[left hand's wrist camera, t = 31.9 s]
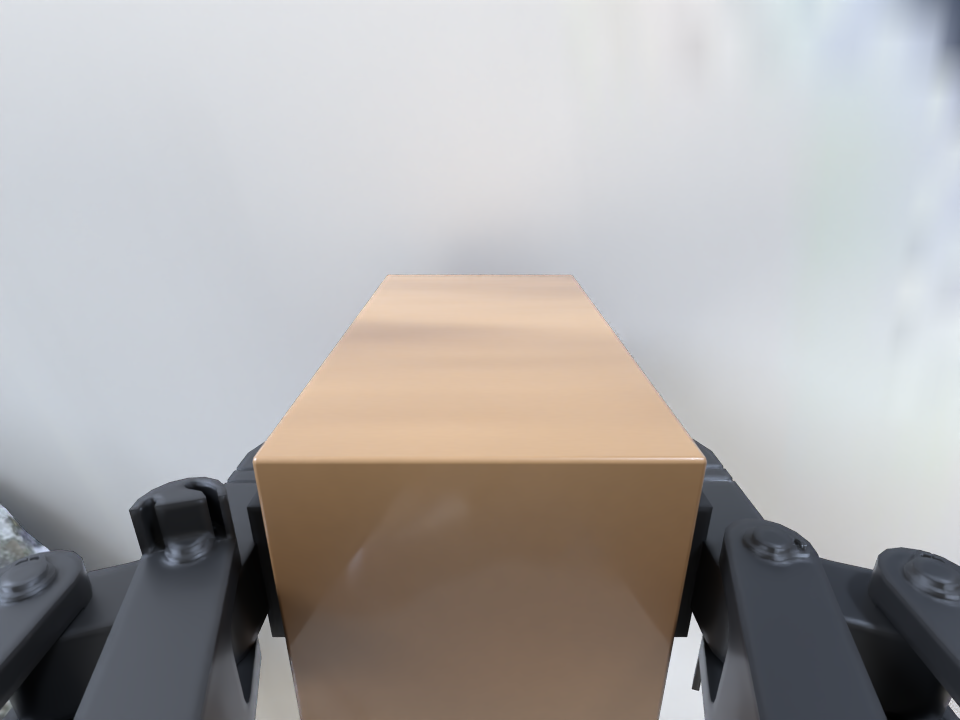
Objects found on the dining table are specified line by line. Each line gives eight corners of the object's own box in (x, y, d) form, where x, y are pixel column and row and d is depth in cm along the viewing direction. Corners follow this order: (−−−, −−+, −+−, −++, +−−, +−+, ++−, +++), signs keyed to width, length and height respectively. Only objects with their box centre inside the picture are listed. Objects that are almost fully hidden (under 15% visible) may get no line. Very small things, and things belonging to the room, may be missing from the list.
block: (562, 442, 18) (651, 765, 9) (397, 442, 18) (306, 765, 9) (573, 274, 16) (710, 459, 6) (386, 274, 16) (249, 459, 6)
